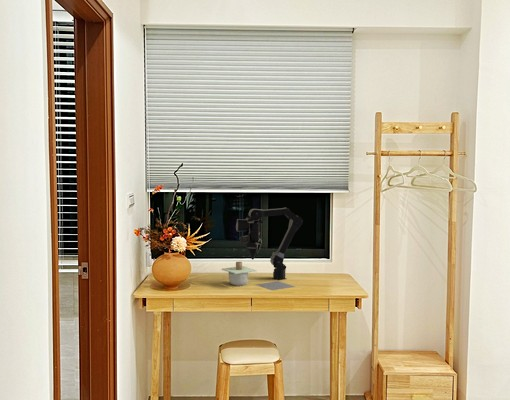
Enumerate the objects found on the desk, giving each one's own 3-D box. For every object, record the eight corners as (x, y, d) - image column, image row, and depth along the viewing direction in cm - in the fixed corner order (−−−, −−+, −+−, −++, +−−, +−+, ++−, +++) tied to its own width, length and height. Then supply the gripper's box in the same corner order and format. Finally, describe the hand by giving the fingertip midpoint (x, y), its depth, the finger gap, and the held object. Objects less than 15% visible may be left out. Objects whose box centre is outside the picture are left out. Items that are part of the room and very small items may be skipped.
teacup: (245, 287, 314) (245, 273, 314) (226, 286, 316) (226, 272, 316) (251, 282, 328) (251, 268, 327) (232, 281, 330) (232, 267, 329)
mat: (277, 282, 329) (277, 281, 329) (295, 287, 316) (295, 286, 316) (255, 285, 320) (255, 284, 320) (272, 291, 307) (272, 290, 307)
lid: (242, 267, 331) (242, 259, 331) (256, 271, 320) (256, 262, 319) (221, 269, 323) (221, 261, 323) (235, 274, 312) (235, 265, 311)
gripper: (243, 228, 341) (243, 254, 342) (237, 232, 323) (237, 260, 324) (262, 229, 339) (261, 255, 341) (256, 233, 321) (256, 261, 322)
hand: (254, 258), depth 332 cm, fingers open, 9 cm apart
